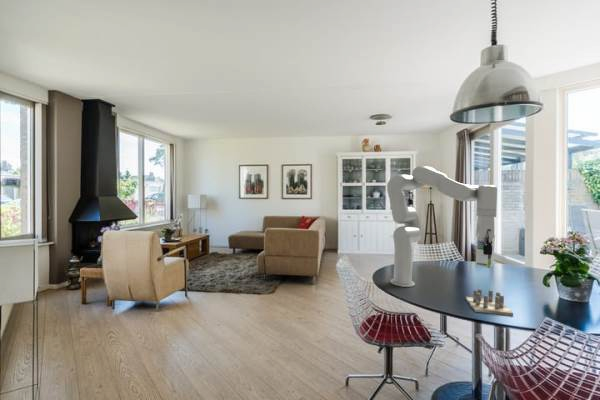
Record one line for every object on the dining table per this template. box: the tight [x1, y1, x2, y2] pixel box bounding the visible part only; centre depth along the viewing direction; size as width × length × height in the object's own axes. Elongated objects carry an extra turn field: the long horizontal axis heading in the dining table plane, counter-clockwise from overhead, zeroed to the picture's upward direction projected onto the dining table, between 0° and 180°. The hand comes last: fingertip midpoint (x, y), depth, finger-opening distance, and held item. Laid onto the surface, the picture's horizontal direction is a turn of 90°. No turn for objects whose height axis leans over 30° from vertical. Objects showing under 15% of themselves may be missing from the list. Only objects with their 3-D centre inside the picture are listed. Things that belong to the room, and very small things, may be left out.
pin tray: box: [465, 288, 514, 317], centre depth 134 cm, size 16×14×6 cm
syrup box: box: [475, 233, 496, 269], centre depth 134 cm, size 6×6×14 cm
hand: (484, 252), depth 134 cm, fingers closed on syrup box, 7 cm apart
